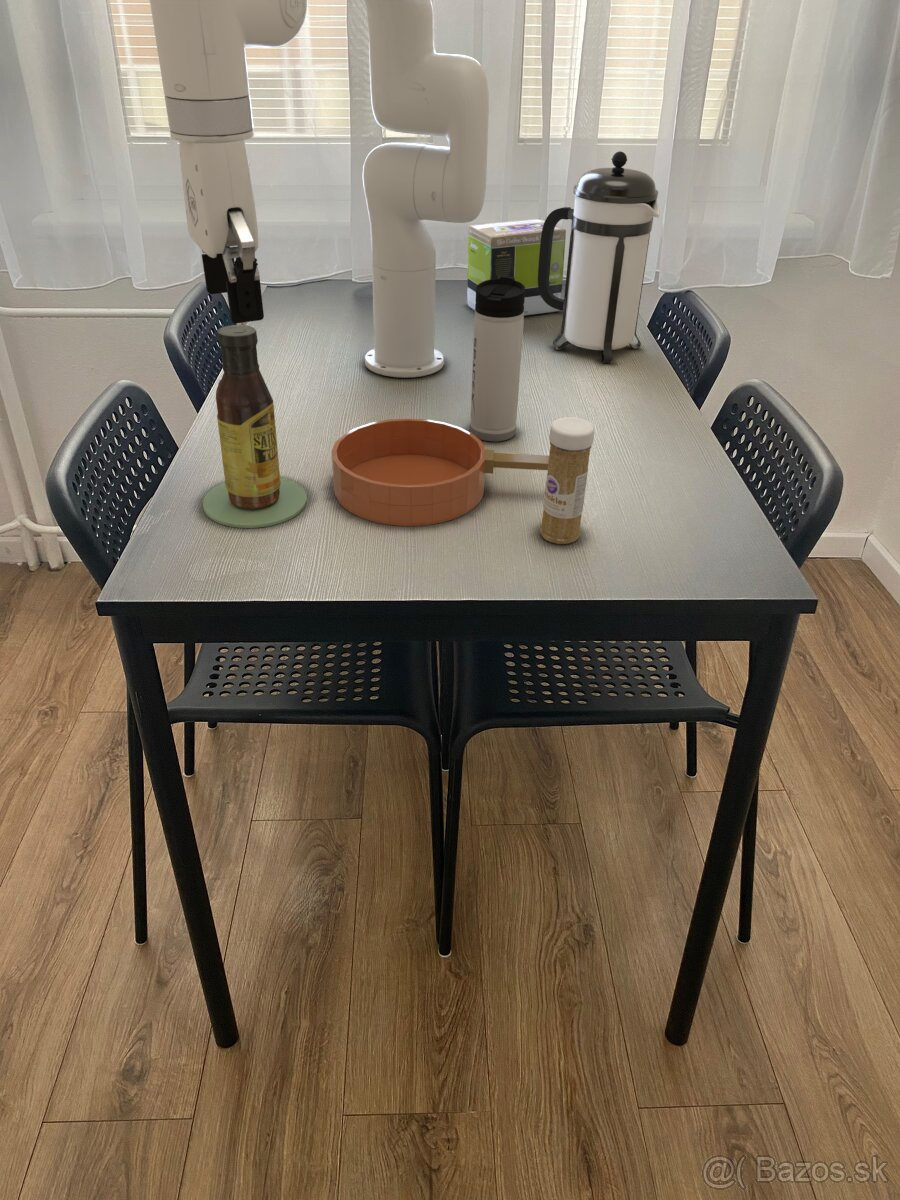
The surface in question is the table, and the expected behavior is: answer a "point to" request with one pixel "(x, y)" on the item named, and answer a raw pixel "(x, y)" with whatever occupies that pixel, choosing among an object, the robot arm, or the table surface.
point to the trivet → (278, 512)
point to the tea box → (514, 259)
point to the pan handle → (514, 461)
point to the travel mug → (496, 358)
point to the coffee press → (602, 257)
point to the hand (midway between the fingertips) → (234, 305)
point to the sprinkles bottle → (566, 479)
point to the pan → (408, 471)
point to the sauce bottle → (246, 422)
